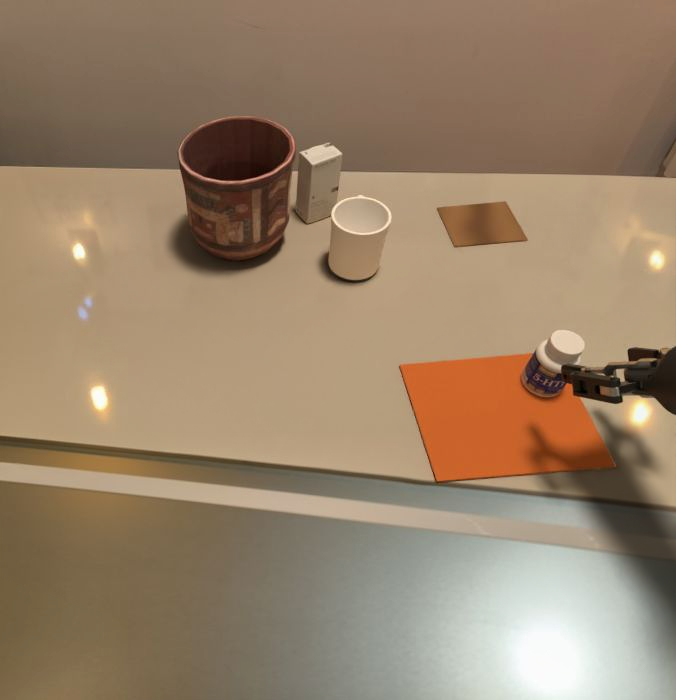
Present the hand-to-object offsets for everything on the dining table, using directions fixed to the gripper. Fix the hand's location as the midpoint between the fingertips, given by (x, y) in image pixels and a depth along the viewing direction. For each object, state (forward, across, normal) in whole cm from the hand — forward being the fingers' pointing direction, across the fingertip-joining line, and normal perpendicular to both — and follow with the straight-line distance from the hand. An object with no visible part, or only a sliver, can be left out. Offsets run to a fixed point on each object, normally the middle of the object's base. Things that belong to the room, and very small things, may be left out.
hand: (597, 364), depth 71 cm
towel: (+9, +8, +6) cm, 13 cm away
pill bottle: (+11, 0, +4) cm, 12 cm away
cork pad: (+34, -9, -18) cm, 39 cm away
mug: (+32, +15, -17) cm, 40 cm away
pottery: (+40, +31, -25) cm, 57 cm away
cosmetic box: (+42, +17, -26) cm, 52 cm away
